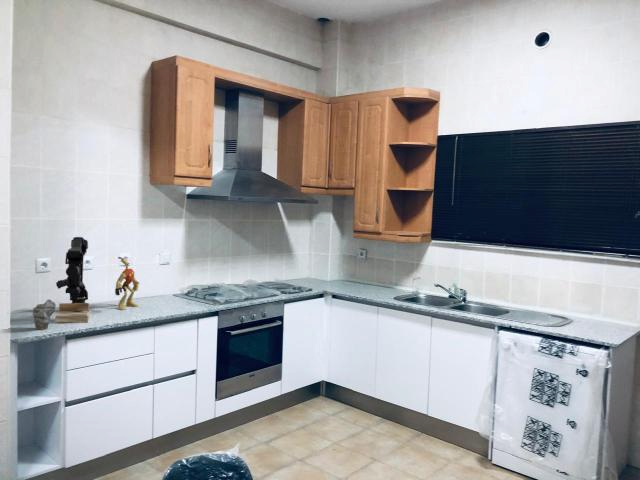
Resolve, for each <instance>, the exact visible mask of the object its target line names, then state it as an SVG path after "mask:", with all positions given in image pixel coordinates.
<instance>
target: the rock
mask: <svg viewBox="0 0 640 480" xmlns="http://www.w3.org/2000/svg"><path fill="white" fill-rule="evenodd" d="M56 305H57V304H56V302H55V301H54V302H53V300H52V299H47V300H46V301H45V302H44V303H39V304H37V305H36V307H33V309H32V316H33V320H34V327H35V329H36V330H45V329H48V327H49V324H50V319H51V316H52V315H53V314H54V312H55V309H56Z"/></svg>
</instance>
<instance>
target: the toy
mask: <svg viewBox="0 0 640 480" xmlns="http://www.w3.org/2000/svg"><path fill="white" fill-rule="evenodd" d="M117 259H118V260H119V259H120V262H121V263H122V264H123V265H124V266H125V269H124V270H123V271H122V272H121V273H120V276H119V277H118V278H117V281H116V283H115V289H114V290H115V291H114V293H115V296H120V294H122V292H124V295H123V296H122V298H121V299H120V300H119V302H118V305H117V308H118V310H120V311H122V310H123V311H124V310H127V307H134V308H135V307H140V305H139V304H137V303H135V302H134V301H133V298H134V295H135V292H137V291H139V287H140V282H139V281H138V280H137V279H136V277H135V275H136V272H135V271H134V269H133V268H129V265H130V263H129V262H128V260H127V259H126V257H121V256H118V257H117ZM122 282H123V284H122ZM130 284H132V285H133V287H131V286H130ZM128 291H129V292H130V294H129V295H128ZM127 296H128V297H127ZM125 302H126V303H125Z"/></svg>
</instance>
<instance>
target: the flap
mask: <svg viewBox="0 0 640 480" xmlns="http://www.w3.org/2000/svg"><path fill="white" fill-rule="evenodd" d="M89 305H90V304H89V302H85V303H72V302H69V303H68V302H67V303H60V302H59V304H58V307H59V310H58V311H59V312H75V311H80V312H90V311H89V309H90V307H89Z"/></svg>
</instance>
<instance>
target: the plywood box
mask: <svg viewBox="0 0 640 480" xmlns="http://www.w3.org/2000/svg"><path fill="white" fill-rule="evenodd" d="M90 313H91V312H90V311H80V312H75V311H59V312H57V314H56V315H55V321H54V324H81V323H83V324H85V323H89V321H90V317H91V316H90Z"/></svg>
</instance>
